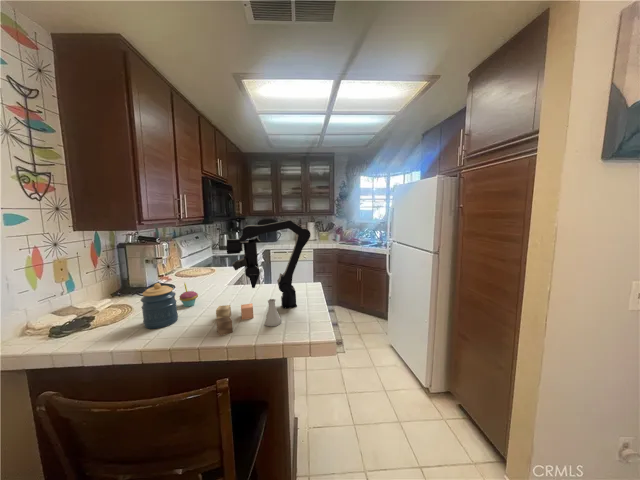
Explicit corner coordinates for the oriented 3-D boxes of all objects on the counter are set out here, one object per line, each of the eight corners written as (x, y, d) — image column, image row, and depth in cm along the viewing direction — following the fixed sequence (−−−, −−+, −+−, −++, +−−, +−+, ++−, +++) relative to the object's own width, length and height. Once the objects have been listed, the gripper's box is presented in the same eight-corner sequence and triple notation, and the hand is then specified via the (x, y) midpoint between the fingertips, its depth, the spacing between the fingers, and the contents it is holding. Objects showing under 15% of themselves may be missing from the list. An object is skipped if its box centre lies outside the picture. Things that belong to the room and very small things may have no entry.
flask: (278, 327, 107) (276, 303, 106) (261, 326, 109) (259, 302, 107) (284, 319, 114) (282, 297, 113) (268, 319, 116) (266, 296, 114)
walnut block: (229, 327, 109) (228, 316, 108) (232, 332, 104) (231, 320, 104) (217, 331, 106) (216, 319, 105) (219, 336, 102) (218, 323, 101)
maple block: (231, 315, 121) (230, 305, 120) (228, 320, 116) (227, 309, 115) (219, 316, 120) (218, 305, 120) (216, 321, 115) (215, 310, 115)
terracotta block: (253, 313, 122) (252, 303, 122) (253, 318, 117) (252, 307, 117) (241, 315, 121) (241, 304, 120) (241, 319, 116) (241, 308, 115)
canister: (158, 331, 107) (153, 288, 105) (136, 327, 112) (131, 286, 110) (185, 318, 119) (181, 280, 117) (163, 315, 124) (159, 278, 122)
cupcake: (176, 307, 134) (173, 284, 132) (190, 301, 142) (188, 279, 140) (188, 309, 130) (186, 285, 129) (202, 303, 138) (200, 280, 137)
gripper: (233, 251, 130) (235, 282, 132) (231, 257, 112) (234, 293, 114) (256, 249, 133) (258, 279, 135) (258, 255, 115) (261, 290, 117)
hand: (253, 285), depth 125 cm, fingers open, 9 cm apart
